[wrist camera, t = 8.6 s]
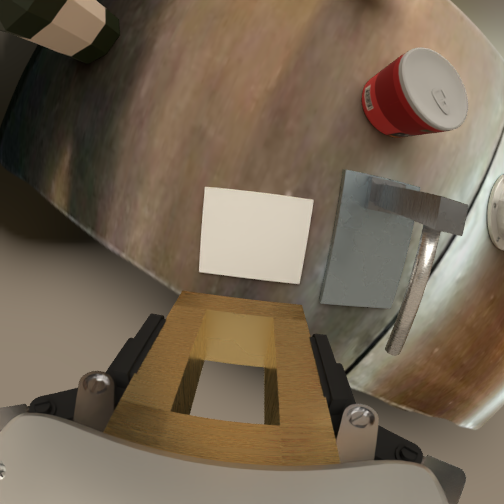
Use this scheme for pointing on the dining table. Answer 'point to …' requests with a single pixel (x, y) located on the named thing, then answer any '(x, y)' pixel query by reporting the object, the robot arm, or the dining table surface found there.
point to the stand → (384, 245)
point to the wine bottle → (62, 26)
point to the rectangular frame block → (234, 352)
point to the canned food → (416, 96)
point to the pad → (254, 234)
